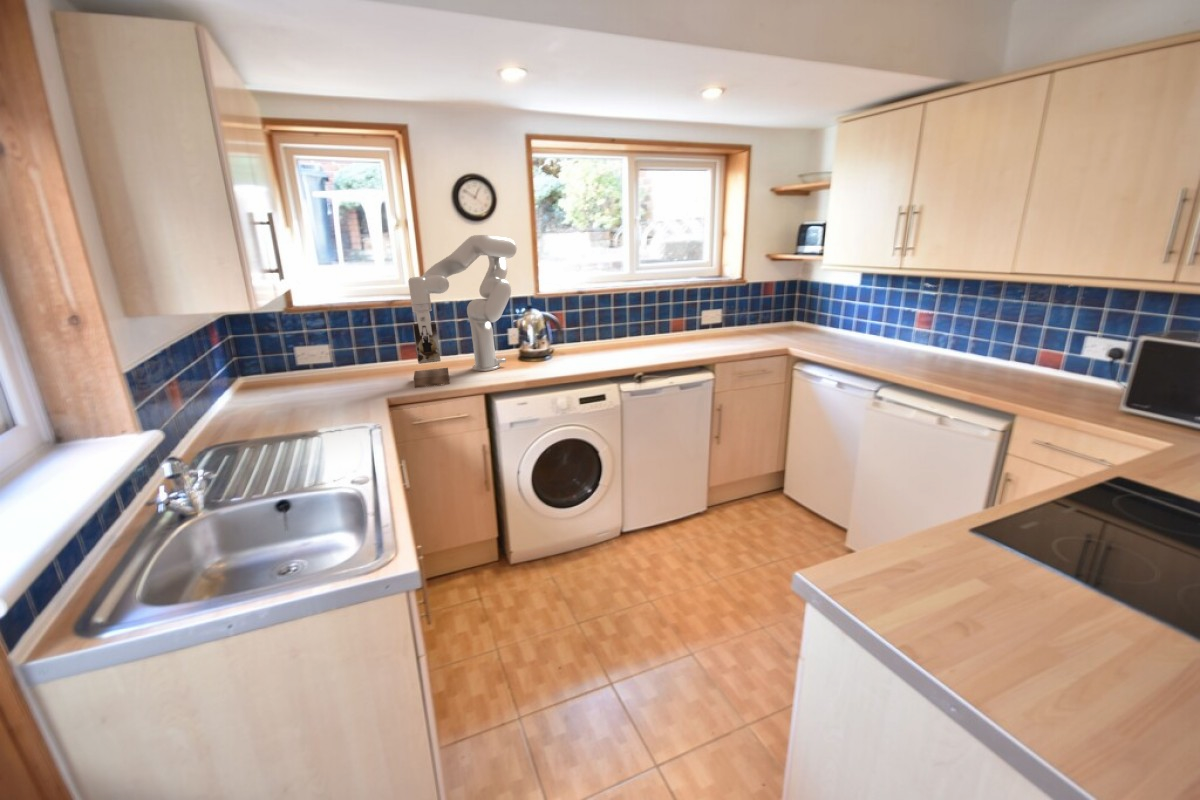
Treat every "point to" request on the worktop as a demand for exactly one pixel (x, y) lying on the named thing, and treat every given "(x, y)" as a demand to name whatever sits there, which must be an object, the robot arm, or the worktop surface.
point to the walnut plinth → (431, 377)
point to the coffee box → (435, 353)
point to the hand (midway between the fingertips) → (427, 349)
